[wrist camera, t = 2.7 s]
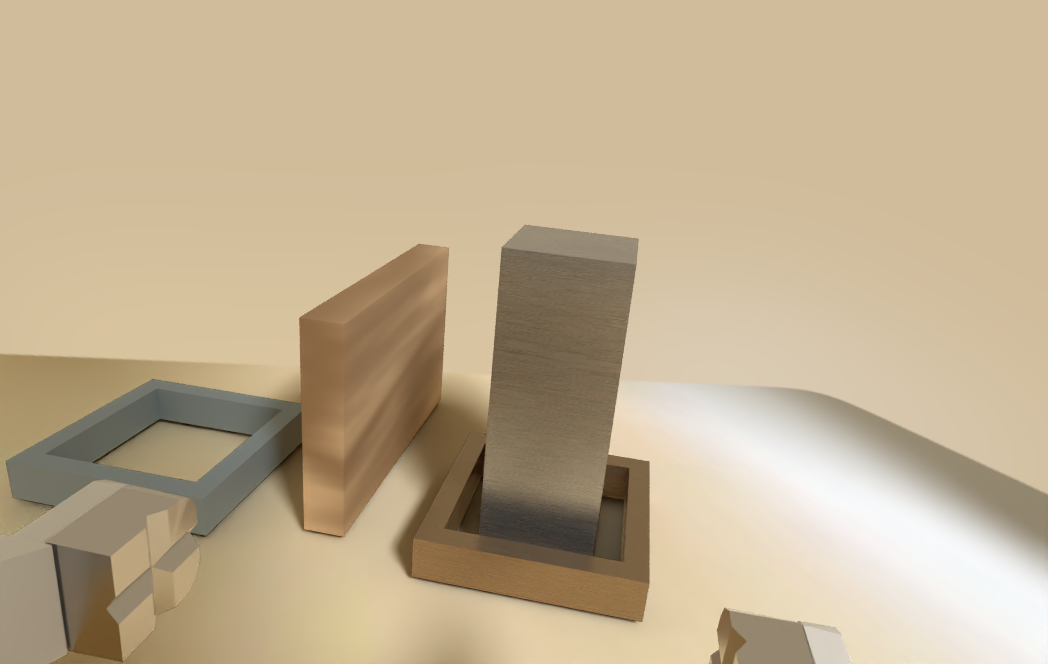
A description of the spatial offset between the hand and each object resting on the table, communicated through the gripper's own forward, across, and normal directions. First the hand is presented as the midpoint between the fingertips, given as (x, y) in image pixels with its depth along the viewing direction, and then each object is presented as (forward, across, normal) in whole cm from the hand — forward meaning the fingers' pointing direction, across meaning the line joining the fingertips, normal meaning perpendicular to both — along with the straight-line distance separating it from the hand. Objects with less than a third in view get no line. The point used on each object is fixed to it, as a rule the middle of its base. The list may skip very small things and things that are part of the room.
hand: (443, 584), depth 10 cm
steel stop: (+14, 0, +8) cm, 16 cm away
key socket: (+14, 0, +8) cm, 16 cm away
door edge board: (+17, +7, +8) cm, 20 cm away
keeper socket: (+14, +15, +8) cm, 22 cm away
